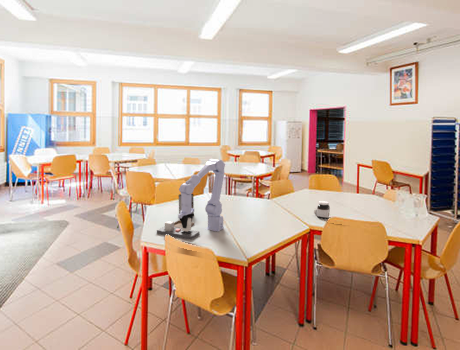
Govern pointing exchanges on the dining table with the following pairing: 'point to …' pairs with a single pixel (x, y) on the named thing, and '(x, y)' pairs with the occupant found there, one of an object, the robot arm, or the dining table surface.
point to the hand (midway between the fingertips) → (186, 226)
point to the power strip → (179, 233)
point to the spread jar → (322, 210)
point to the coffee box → (180, 203)
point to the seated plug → (169, 226)
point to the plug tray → (180, 224)
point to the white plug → (187, 225)
